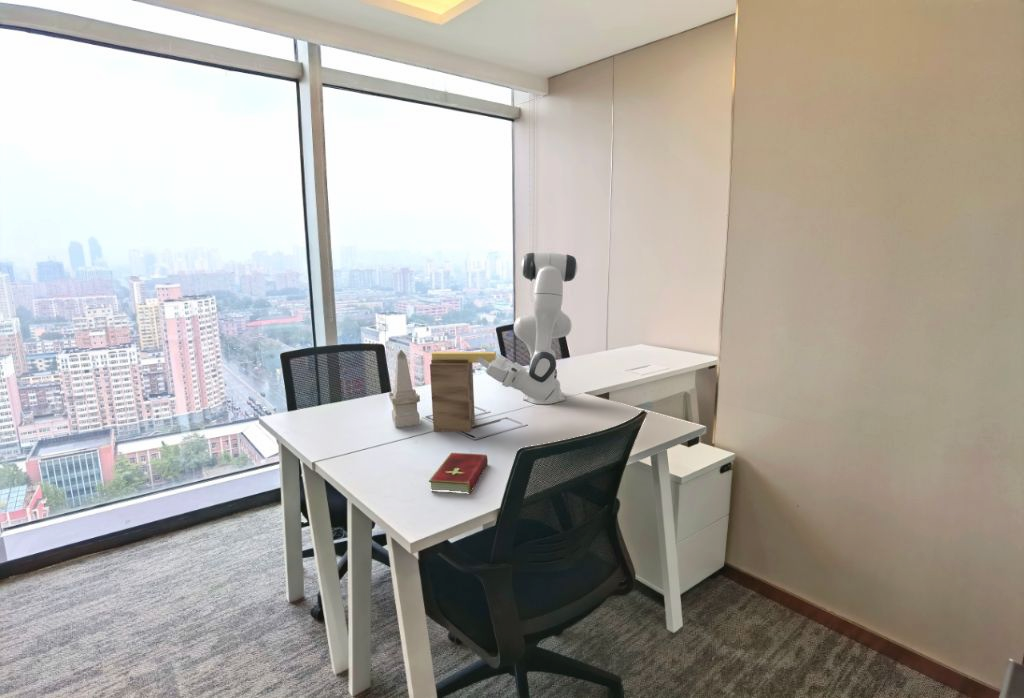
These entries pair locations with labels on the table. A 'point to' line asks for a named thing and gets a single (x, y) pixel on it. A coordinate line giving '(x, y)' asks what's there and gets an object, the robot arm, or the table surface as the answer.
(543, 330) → the robot arm
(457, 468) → the hardcover book
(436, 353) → the yellow wooden bar
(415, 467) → the table surface
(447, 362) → the stand
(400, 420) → the miniature monument
